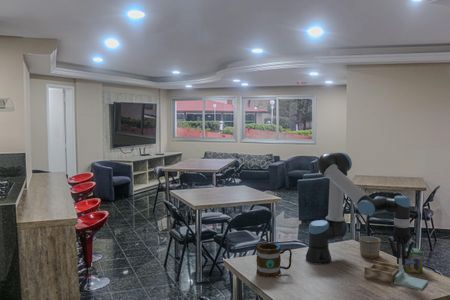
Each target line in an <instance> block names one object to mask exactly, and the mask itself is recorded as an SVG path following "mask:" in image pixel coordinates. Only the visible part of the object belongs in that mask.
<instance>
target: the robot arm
mask: <svg viewBox="0 0 450 300" xmlns="http://www.w3.org/2000/svg"><path fill="white" fill-rule="evenodd" d="M352 161H353V160H352V159H351V157H350V156H349V155H348V154H347V153H345V152H331V153H328V152H327V153H324V154H322V155H320V156H319V157H318V160H317V162H316V163H317V166H316V167H317V168H318V171H319V173H320V174H321V175H322V176H323V177H324V178H325V179H329V189H328V190H329V191H328V214H327V216H325V219H320V220H318V219H317V220H313V221H311V222H310V223H309V225H308V248H307V251H306V254H305V260H306V262H308V263H309V264H314V265H329V264H331V263H332V255H331V252H330V248H329V247H330V246H329V244H330V242H333V241H340V240H342V239H344V238H345V237H347V236H348V234H349V225H348V222H347V220H346V218H345V217H344V198H345V197H344V194H345V195H346V196H347V198H349V199H350V200H351V201H352V202H353V203H355V205H356V206H357V207H356V208H357V210H358V213H359V214H360V215H362V216H371V215H374V214H380V213H385V212H386V213H391V214H393V225H394V226H393V234H392V236H389V237H388V239H387V240H388V241H389V243H390V248H391V252H392V256H393V257H395V258H396V265H398V266H399V271H401V272H402V271H404V269H403V265H405V259H408V258H409V257H410V253H411V250H412V248H414V247H413V246H414V245H415V243H416V241H415V240H413V239H412V237H411V234H410V233H411V232H410V230H411V228H410V226H411V219H410V218H411V199H410V197H409V196H406V195H395V196H394V198H391V197H387V196H379V195H378V196H375V197H374V198H371V197H370V196H369V195H367V194H366V193H365V192H364V191H363V190H362V189H361V188H360V187H359V186H358V185H356V184H355V183H354V182H353V181H352V180H351V179H350V178H349V177H347V176H348V172H349V171H350V170H351V169H352V165H353V162H352ZM395 242H396V245H395ZM408 243H410V244H409V245H408V247H407V244H408ZM406 248H408V251H407V255H406Z"/></svg>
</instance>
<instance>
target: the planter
mask: <svg viewBox="0 0 450 300" xmlns="http://www.w3.org/2000/svg"><path fill="white" fill-rule="evenodd" d="M358 240H359V253H360V255H361V257H364V258H369V259H375V258H378V257H379V256H380V252H381V251H380V250H381V238H379V237H375V236H370V235H369V236H367V235H365V236H360V237H359V239H358Z"/></svg>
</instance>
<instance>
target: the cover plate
mask: <svg viewBox="0 0 450 300" xmlns="http://www.w3.org/2000/svg"><path fill="white" fill-rule="evenodd" d="M404 273H405V271H404V270H403V271H402V272H401V271H400V272H399V273H398V274H397V275H396V276H395V281H394V282H393V285H394V284H395V285H398V286H402V287H405V288H411V289H415V290H419V291H422V290H423V289H424V288H425V287H426V285H427V284H428V282H429V281H428V280H426V279H421V278H417V277H413V276H409V275H405V274H404Z"/></svg>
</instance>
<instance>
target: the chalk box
mask: <svg viewBox="0 0 450 300" xmlns="http://www.w3.org/2000/svg"><path fill="white" fill-rule="evenodd" d="M408 243H409V242H408ZM409 245H410V243H409ZM408 248H409V247H406V255H407V251H408ZM423 256H424V255H423V252H422V251H421V249H420V248H418V247H412V250H411V253H410V257H409V258H408V259H405V265H403V271H404V273H414V274H415V273H417V274H423V271H424V270H423V269H424V268H423V266H424V265H423Z"/></svg>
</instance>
